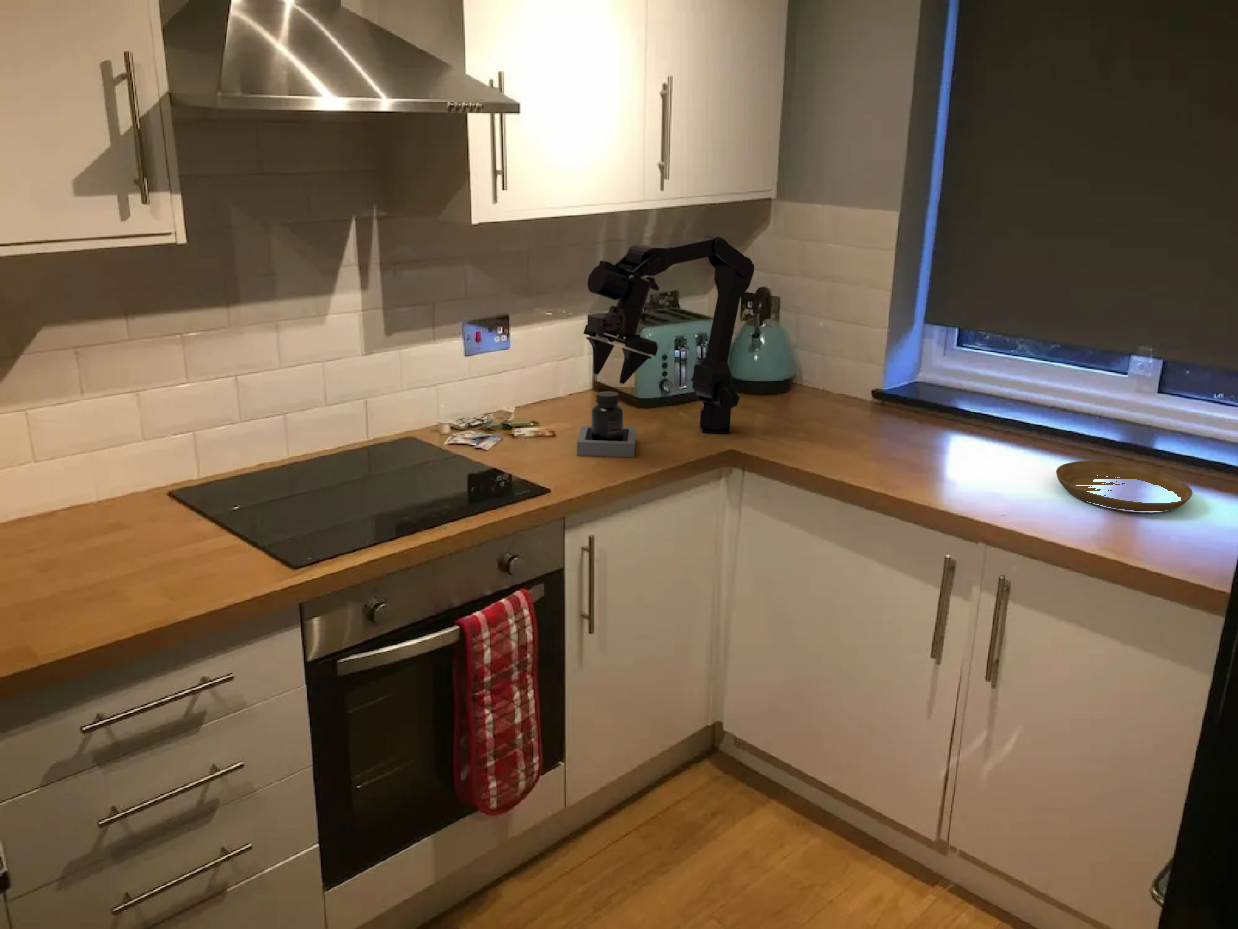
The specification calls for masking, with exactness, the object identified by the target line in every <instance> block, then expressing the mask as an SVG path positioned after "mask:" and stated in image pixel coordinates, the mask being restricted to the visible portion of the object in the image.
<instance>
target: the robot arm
mask: <svg viewBox="0 0 1238 929" xmlns="http://www.w3.org/2000/svg"><path fill="white" fill-rule="evenodd" d="M704 258H706V260H707V262H708V264H710V266H711V267H712V268H713V269H714V275H713V276H714V278H713V280H714V283H715V284H714V285H715V289H716V290H717V291H716V292H717V297H716V298H717V299H716V303H715V308H714V309H715V310H714V312H713V318H712V322H711V323H712V324H711V327H710V329H711V330H710V333H709V334H710V335H709V339H708V345H707V348H706V349H707V350H706V355H705V358H704V359H703V360H702V362H701V363H695V364H694V365H693V373H692V374H693V375H692V377H691V379H690V382H692V390H693V391H694V393H695V395H696V398H697V399H696V400H697V401H698V402H702V407H700V408H699V428H700V429H701V432H702V433H706V434H731V433H732V430H731V415H732V409H733V408H734V407H738V404H739V401H740V396H739V395H738V393H737V392H736V391H734V389H733V388H732V372H731V370H730V365H729V362H728V361H729V356H730V350H731V346H732V343H733V341H732V340H733V337H734V336H733V335H734V330H735V325H736V321H737V316H738V310H739V305H740V301H741V298H742V297H743V295H744V294H745V292H746V291H747V290H748V289H749V287H750V285H751V283H752V280H753V277H754V274H755V264H754V263H753V261H752V260H751V258H750V257H748V256H745V255H744V254H743V253H742V252H741V251H739V250H737V249H736V248H734V247H733V246H732V245H731V244H729V243H728V242H727V241H726V240H725V239H724V238H723V237H722V236H718V235H710V234H706V235H703V237H697V238H693V239H688V240H684V241H678V242H674V243H669V244H664V245H659V244H658V245H657V244H633V245H631V246H630V247H629V249H628V251H627V252H626V254H625V255H624V256H622V257H621V258H620V259H619V260H618V261H617V262H616V263H614V264H613V263H612V262H610V261H606V260H602V259H601V260H600V261H599V264H598V265H596V267H594V268H593V269H592V271H591V272H590V273H589V274H588V278H587V289H588V291H589V292H590V293H592V294H594V295H597V296H600V297H603V298H606V299H609V300H612V301H617V302H616V304H615V305H611V306H610V307H609V309H608V312H595V313H589V314H587V317H586V318H587V323H586V325H585V327H584V330H583V335H585V336H586V337H585V339H586V340H588V341H589V344H590V345H591V348H592V360H593V361H592V363H593V367H592V368H593V370H592V371H593V374H594V375H599V374H600V372H601V371H602V369H603V367H604V366H605V364H606V362H607V360H608V358H609V356H610V355H611V353H612V351H613V349H614V347H615V344H613V343H614V342H616V343H620V344H622V345H624V346H625V348H624V347H622V348H621V349H622V353H623V355H624V357H623V358H624V359H623V363H622V367H621V372H620V376H619V381H618V382H619V383H620V384H622V385H625V384H626V382H627V381H628V380H629V379H630V378H631V377H632V376H633V375H634V374H635V373H636V371H637V370H639V368H641V367H642V365H644V364H645V362H646V361H647V360H651V358H652V356H653V357H656V356H657V354H658V350H659V345H658V342H657V341H656V340H651V339H648V338H645V337H642V336H641V334H638V330H639V327H640V325H641V320H642V321H646V318H647V315H644V314H643V313H644V310H645V307H646V303H647V300H648V297H649V293H650V290H652V291H656V292H658V291H659V290H660V287H659V286H658V284H657V282H656V279H655V277H656V276H657V275H660V274H662V273H663V272H666V271H668V269H669V268H670V267H672V266H675V265H677V264H678V265H679V264H681V263H686V262H692V261H696V260H701V259H704ZM630 276H631V277H630ZM645 276H647V277H645ZM644 277H645V278H644Z"/></svg>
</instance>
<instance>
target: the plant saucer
mask: <svg viewBox="0 0 1238 929" xmlns="http://www.w3.org/2000/svg"><path fill="white" fill-rule="evenodd" d="M1055 474H1056V477H1057V480H1058V481H1059V483H1060V484H1061V486H1062V487H1063V488H1064V489H1065V491H1067V492H1068V493H1069V494H1070V495H1072V496H1073V495H1074V496H1073V497H1075V496H1076V497H1075V498H1077V497H1078V498H1080V499H1083V500H1085V501H1088V502H1091V503H1095V504H1099V505H1103V506H1106V507H1111V508H1116V509H1125V510H1134V511H1165V510H1170V511H1172V510H1171V509H1173V510H1175V509H1177V508H1180V507H1181V506H1183V505H1184V504H1186V503H1187V502H1188V501H1189V500H1190V499H1191V498H1192V497H1193V494H1194V493H1193V490H1192V488H1191V487H1190V486H1189V485H1188V484H1187V483H1185V482H1184V481H1182V480H1180V479H1178V478H1176V477H1174V476H1172V475H1170V474H1167V473H1164V472H1161V471H1158V470H1155V469H1152V468H1149V467H1148V468H1147V467H1143V466H1138V465H1135V464H1134V465H1133V464H1128V463H1124V462H1123V463H1122V462H1115V461H1107V460H1106V461H1105V460H1104V461H1103V460H1079V461H1072V462H1067V463H1064V464H1062V465H1059V466H1058V467H1057V469H1056V471H1055ZM1097 475H1098V476H1097ZM1106 476H1108V477H1106ZM1115 477H1116V478H1115ZM1117 477H1120V478H1117ZM1094 479H1137V480H1141V481H1145V482H1148V483H1151V484H1153V485H1159V486H1161V487H1163V488H1165V489H1167V490H1168V491H1173V492H1174V493H1175V494H1177V496H1178V497H1181V501H1178V502H1171V503H1142V502H1133V501H1125V500H1119V499H1114V498H1109V497H1104V496H1106V495H1104V496H1101V495H1097V494H1093V493H1090V492H1087V491H1100V490H1101V489H1097V490H1095V489H1096V488H1088V487H1090V486H1076V485H1113V484H1115V483H1113V482H1110V483H1106V482H1093V480H1094ZM1116 482H1117V481H1116ZM1102 483H1104V484H1102ZM1105 483H1106V484H1105ZM1123 484H1125V483H1122V485H1123ZM1115 485H1120V484H1115ZM1091 487H1092V486H1091ZM1108 491H1109V490H1108ZM1110 491H1112V490H1110ZM1078 498H1077V499H1078ZM1080 499H1079V500H1080ZM1083 500H1082V501H1083ZM1085 501H1084V502H1085Z"/></svg>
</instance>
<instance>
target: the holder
mask: <svg viewBox="0 0 1238 929" xmlns="http://www.w3.org/2000/svg"><path fill="white" fill-rule="evenodd" d="M636 443H637V427H636V426H623V441H599V440H592V425H581V427H580V430H579V434H578V438H577V442H576V456H579V457H581V456H582V457H584V456H585V457H604V456H606V458H607V457H608V458H610V457H611V458H635V452H636ZM614 456H615V457H614Z"/></svg>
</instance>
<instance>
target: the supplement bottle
mask: <svg viewBox="0 0 1238 929" xmlns="http://www.w3.org/2000/svg"><path fill="white" fill-rule="evenodd" d="M595 395H596V396H595V403H596V404H595V405H594V406H593V407H592V409H591V426H592V440H599V441H623V427H624V409H623V407H622V406H621V405H619V403H620V397H619V396H620V394H619V393H618V392H617V391H600V392H597V393H596V394H595Z"/></svg>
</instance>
